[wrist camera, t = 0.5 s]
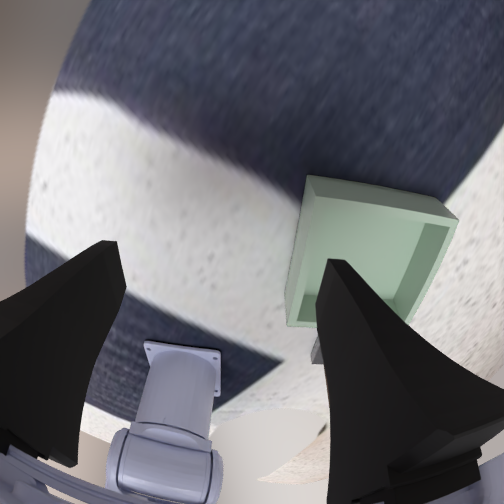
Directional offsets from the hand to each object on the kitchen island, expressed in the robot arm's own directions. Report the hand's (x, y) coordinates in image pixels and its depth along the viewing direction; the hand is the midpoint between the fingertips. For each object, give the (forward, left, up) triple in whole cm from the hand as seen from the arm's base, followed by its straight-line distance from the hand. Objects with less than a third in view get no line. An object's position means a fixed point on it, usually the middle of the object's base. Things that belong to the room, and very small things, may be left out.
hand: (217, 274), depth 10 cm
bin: (-4, -9, -10) cm, 14 cm away
